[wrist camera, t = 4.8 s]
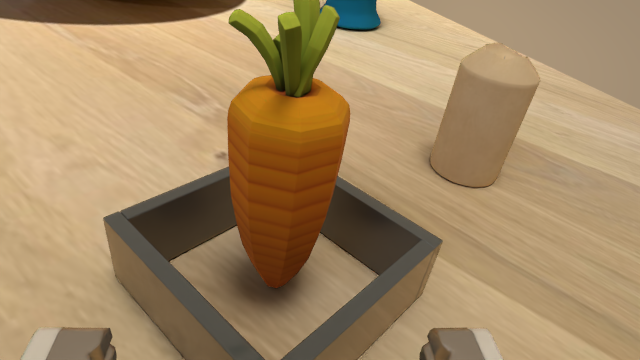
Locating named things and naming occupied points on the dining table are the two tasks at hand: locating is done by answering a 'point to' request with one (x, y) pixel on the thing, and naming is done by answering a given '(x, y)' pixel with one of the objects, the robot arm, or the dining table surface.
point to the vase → (355, 13)
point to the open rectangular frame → (218, 216)
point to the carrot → (285, 141)
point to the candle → (483, 115)
